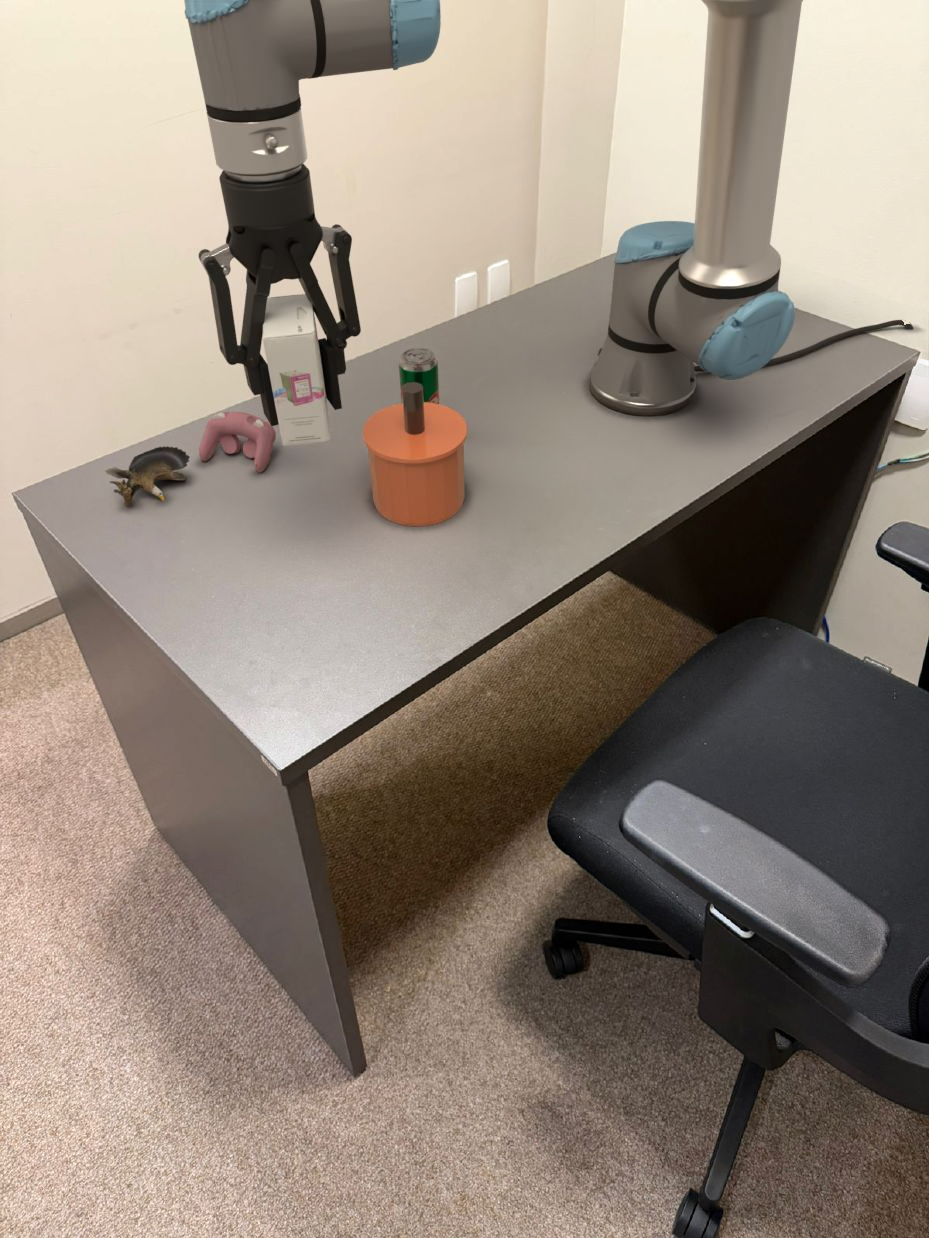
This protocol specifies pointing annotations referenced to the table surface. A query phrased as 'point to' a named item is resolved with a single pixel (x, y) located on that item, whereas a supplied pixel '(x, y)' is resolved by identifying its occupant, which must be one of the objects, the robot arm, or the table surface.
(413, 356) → the soda can
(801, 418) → the table surface
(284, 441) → the ink box
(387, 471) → the pot
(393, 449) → the pot lid
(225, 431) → the video game controller
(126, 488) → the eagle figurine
